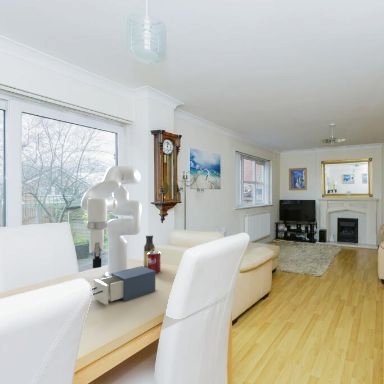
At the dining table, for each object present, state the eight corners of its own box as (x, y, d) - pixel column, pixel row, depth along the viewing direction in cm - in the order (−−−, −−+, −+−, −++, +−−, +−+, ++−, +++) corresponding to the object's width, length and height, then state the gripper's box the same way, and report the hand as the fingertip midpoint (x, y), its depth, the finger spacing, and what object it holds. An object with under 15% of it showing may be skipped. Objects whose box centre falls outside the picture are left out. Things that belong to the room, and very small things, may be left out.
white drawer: (89, 309, 102) (89, 290, 102) (78, 301, 109) (78, 283, 109) (137, 294, 117) (137, 277, 117) (125, 288, 124) (125, 272, 124)
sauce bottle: (153, 268, 157) (154, 236, 157) (142, 269, 156) (142, 236, 156) (155, 265, 164) (155, 234, 163) (144, 266, 162) (144, 234, 162)
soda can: (152, 276, 144) (152, 254, 144) (144, 273, 148) (144, 252, 148) (163, 272, 150) (163, 252, 150) (155, 270, 154) (155, 250, 154)
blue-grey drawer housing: (124, 301, 112) (124, 279, 112) (111, 293, 120) (111, 273, 120) (155, 290, 123) (155, 270, 123) (141, 284, 131) (141, 265, 131)
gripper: (87, 223, 117) (87, 264, 118) (86, 228, 105) (86, 273, 105) (106, 222, 121) (106, 261, 122) (108, 227, 109) (107, 270, 109)
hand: (97, 267), depth 113 cm, fingers closed
